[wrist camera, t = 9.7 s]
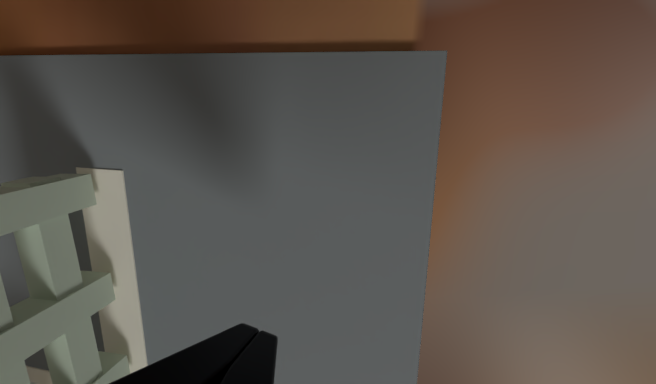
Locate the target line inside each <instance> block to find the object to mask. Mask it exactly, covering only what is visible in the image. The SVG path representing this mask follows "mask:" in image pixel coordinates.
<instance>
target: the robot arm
mask: <svg viewBox="0 0 656 384" xmlns="http://www.w3.org/2000/svg"><path fill="white" fill-rule="evenodd" d="M277 344H278V337H277V336H276V335H274V334H271V333H268V332H266V331H263V330H262V331H259V330H258V329H257V328H255V327H253V326H250V325H248V324H245V323H240V324H238V325H236V326H233V327H231V328H229V329H227V330H225V331H222V332H220V333H218V334H216V335H214V336H211V337H209V338H207V339H205V340H203V341H201V342H198V343H196V344H194V345H192V346H190V347H187V348H185V349H183V350H181V351H179V352H176V353H174V354H172V355H170V356H168V357H165V358H163V359H161V360H159V361H157V362H155V363H152V364H150V365H148V366H146V367H144V368H141V369H139V370H137V371H135V372H133V373H130V374H128V375H126V376H124V377H122V378H119V379H117V380H115V381H113V382H111V383H109V384H274V378H275V367H276V355H277Z"/></svg>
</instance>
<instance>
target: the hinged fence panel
mask: <svg viewBox="0 0 656 384" xmlns="http://www.w3.org/2000/svg"><path fill="white" fill-rule="evenodd" d="M96 204H97V203H96V198H95V193H94V188H93V183H92V178H91V174H57V175H52V176H47V177H28V178H24V179H19V180H14V181H9V182H4V183H1V186H0V236H2V235H5V234H8V233H12V232H13V233H14V237H15V241H16V245H17V248H18V252H19V256H20V260H21V264H22V268H23V272H24V275H25V279H26V283H27V287H28V291H29V295H30V297H29V298H27V299H25V300H23V301H21V302H19V303H17V304H15V305H13V306H11V307H9V303H8V300H7V296H6V292H5V289H4V285H3V282H2V278H1V274H0V384H31V383H30V379H29V376H28V372H27V369H26V365H25V361H24V360H25V359H27V358H28V357H30V356H32V355H33V354H35V353H36V352H38V351H39V350H41V349H42V348H43V349H44V353H45V356H46V360H47V364H48V368H49V372H50V376H51V380H52V383H53V384H109V383H111V382H113V381H115V380H117V379H119V378H122V377H124V376H126V375H128V374H130V369H129V364H128V359H127V355H123V354H116V353H109V352H102V351H98V349H97V344H96V339H95V335H94V330H93V326H92V321H91V317H90V316H92V315H93V314H95V313H96V312H98V311H99V310H101V309H102V308H104V307H105V306H107V305H108V304H110V303H111V302H113V301H114V300H116V299H115V294H114V288H113V283H112V278H111V273H106V272H94V271H80V266H79V262H78V257H77V253H76V248H75V244H74V239H73V235H72V230H71V225H70V221H69V216H68V214H69V213H72V212H75V211H78V210H81V209H84V208H87V207H90V206H93V205H96Z"/></svg>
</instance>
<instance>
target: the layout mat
mask: <svg viewBox="0 0 656 384" xmlns="http://www.w3.org/2000/svg"><path fill="white" fill-rule="evenodd" d="M446 59H447V51H370V52H282V53H193V54H105V55H16V56H0V186H1V183H4V182H9V181H14V180H19V179H24V178H28V177H47V176H52V175H57V174H91V178H92V183H93V188H94V193H95V198H96V203H97V204H96V205H93V206H90V207H87V208H84V209H81V210H78V211H75V212H72V213H69V214H68V216H69V221H70V225H71V230H72V235H73V239H74V244H75V248H76V253H77V257H78V262H79V266H80V271H94V272H106V273H111V278H112V283H113V288H114V294H115V299H116V300H114V301H113V302H111V303H110V304H108V305H107V306H105V307H104V308H102V309H101V310H99V311H98V312H96V313H95V314H93V315H92V316H90V317H91V321H92V326H93V330H94V335H95V339H96V344H97V349H98V351H102V352H109V353H116V354H123V355H127V359H128V364H129V369H130V373H133V372H135V371H137V370H139V369H141V368H144V367H146V366H148V365H150V364H152V363H155V362H157V361H159V360H161V359H163V358H165V357H168V356H170V355H172V354H174V353H176V352H179V351H181V350H183V349H185V348H187V347H190V346H192V345H194V344H196V343H198V342H201V341H203V340H205V339H207V338H209V337H211V336H214V335H216V334H218V333H220V332H222V331H225V330H227V329H229V328H231V327H233V326H236V325H238V324H240V323H245V324H248V325H250V326H253V327H255V328H257V329H258V330H259V331H262V330H263V331H266V332H268V333H271V334H274V335H276V336H277V337H278V344H277V355H276V367H275V378H274V384H417V377H418V366H419V354H420V344H421V332H422V322H423V311H424V300H425V288H426V278H427V267H428V256H429V245H430V233H431V222H432V212H433V201H434V190H435V179H436V167H437V156H438V145H439V135H440V124H441V112H442V102H443V91H444V80H445V69H446ZM0 274H1V278H2V282H3V285H4V289H5V292H6V296H7V300H8V303H9V307H11V306H13V305H15V304H17V303H19V302H21V301H23V300H25V299H27V298H29V297H30V295H29V291H28V287H27V283H26V279H25V275H24V272H23V268H22V264H21V260H20V256H19V252H18V248H17V245H16V241H15V237H14V233H13V232H12V233H8V234H5V235H2V236H0ZM24 361H25V365H26V369H27V372H28V376H29V379H30V382H34V383H38V384H53V383H52V380H51V376H50V372H49V368H48V364H47V360H46V356H45V353H44V349H43V348H42V349H41V350H39V351H38V352H36V353H35V354H33V355H32V356H30V357H28V358H27V359H25V360H24Z"/></svg>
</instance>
